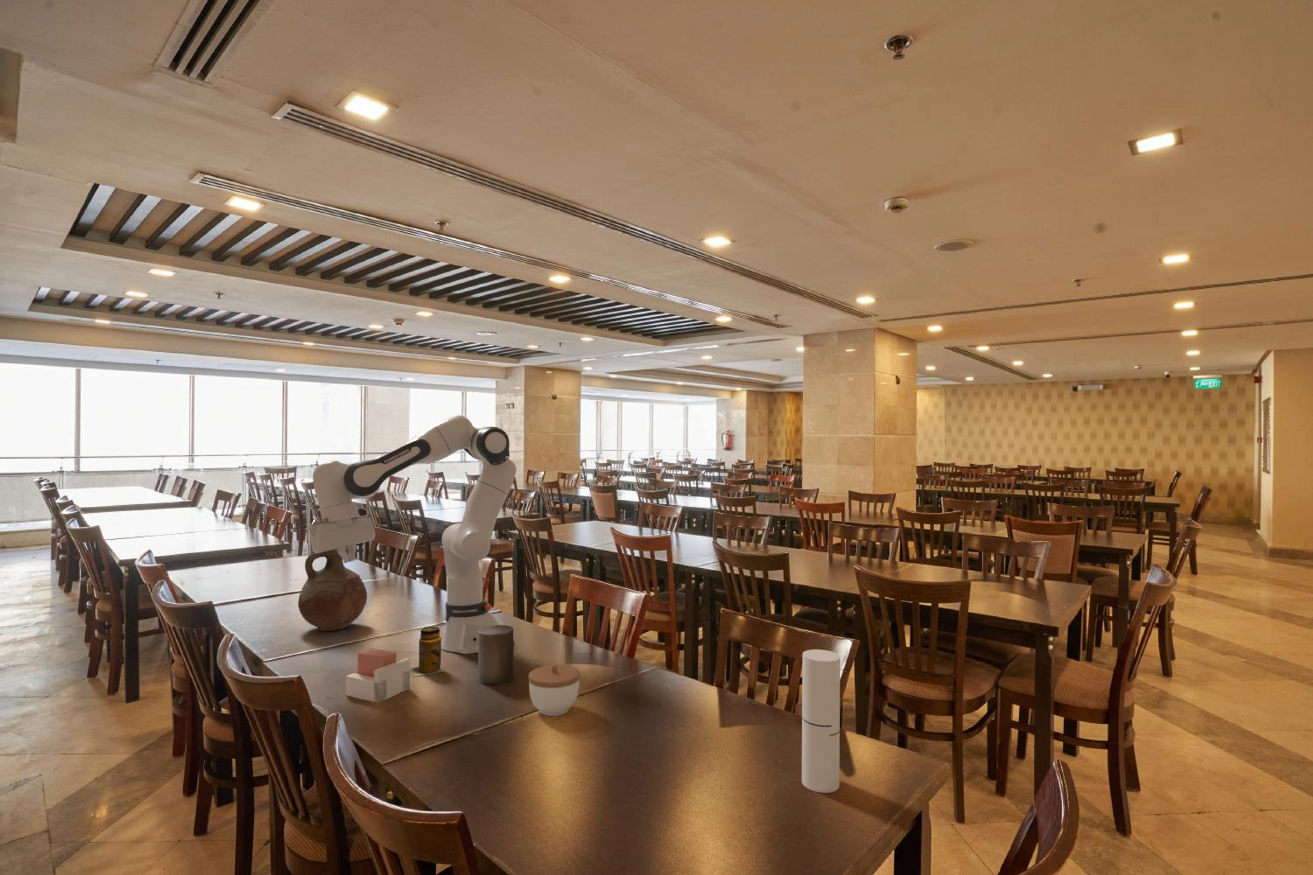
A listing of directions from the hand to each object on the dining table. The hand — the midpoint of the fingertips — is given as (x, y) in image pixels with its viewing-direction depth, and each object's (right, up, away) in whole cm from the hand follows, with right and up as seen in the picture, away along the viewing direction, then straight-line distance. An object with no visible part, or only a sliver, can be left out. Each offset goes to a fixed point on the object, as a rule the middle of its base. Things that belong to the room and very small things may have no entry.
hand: (350, 561), depth 194 cm
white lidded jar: (+65, -31, -31) cm, 78 cm away
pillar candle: (+45, -31, -9) cm, 56 cm away
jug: (-24, -31, +38) cm, 54 cm away
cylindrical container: (+122, -31, -65) cm, 142 cm away
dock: (+16, -31, -20) cm, 40 cm away
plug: (+16, -30, -20) cm, 40 cm away
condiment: (+24, -31, -3) cm, 39 cm away
